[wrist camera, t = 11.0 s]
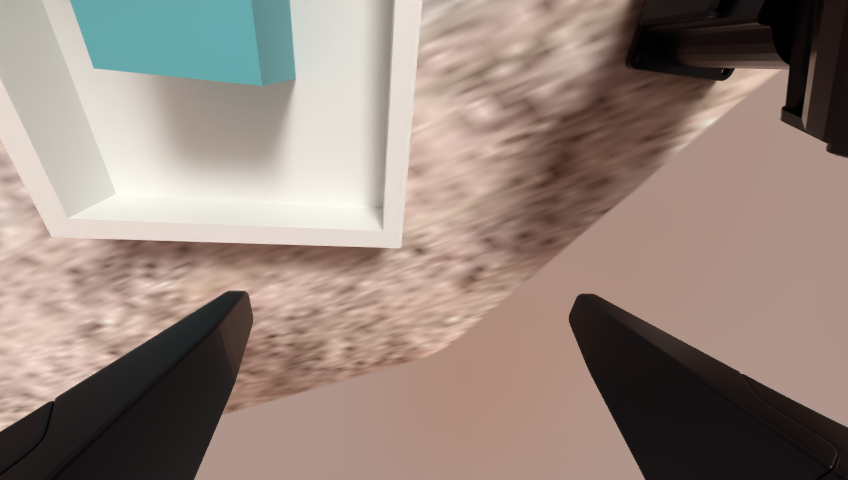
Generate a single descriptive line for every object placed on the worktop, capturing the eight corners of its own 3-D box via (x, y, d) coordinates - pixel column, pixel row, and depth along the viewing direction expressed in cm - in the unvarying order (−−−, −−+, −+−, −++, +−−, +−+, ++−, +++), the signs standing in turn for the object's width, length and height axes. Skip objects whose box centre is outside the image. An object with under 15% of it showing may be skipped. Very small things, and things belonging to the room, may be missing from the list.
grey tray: (437, -314, 11) (463, -489, 7) (397, 216, 20) (401, 248, 17) (-162, -505, 8) (-548, -908, 5) (115, 203, 18) (52, 237, 14)
